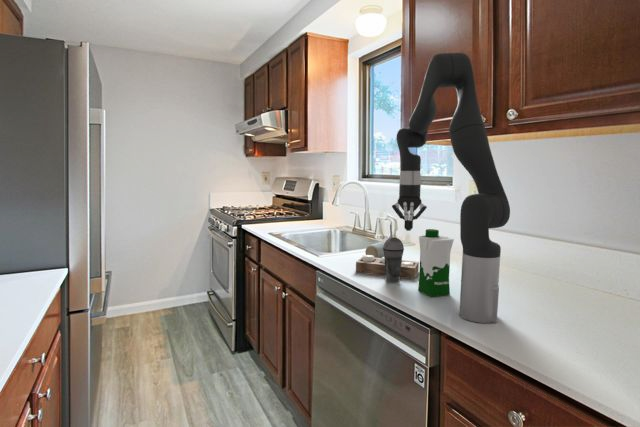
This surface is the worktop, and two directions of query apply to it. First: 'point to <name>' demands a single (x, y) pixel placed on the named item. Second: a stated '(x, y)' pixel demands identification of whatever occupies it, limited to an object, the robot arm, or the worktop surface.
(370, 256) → the button
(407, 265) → the button
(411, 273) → the board
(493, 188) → the robot arm
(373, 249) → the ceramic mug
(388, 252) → the beverage cup
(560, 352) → the worktop surface
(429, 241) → the milk carton
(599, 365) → the worktop surface
